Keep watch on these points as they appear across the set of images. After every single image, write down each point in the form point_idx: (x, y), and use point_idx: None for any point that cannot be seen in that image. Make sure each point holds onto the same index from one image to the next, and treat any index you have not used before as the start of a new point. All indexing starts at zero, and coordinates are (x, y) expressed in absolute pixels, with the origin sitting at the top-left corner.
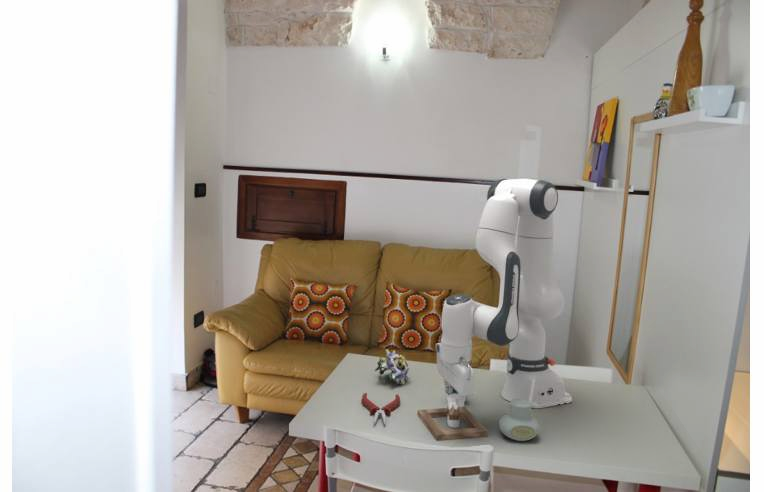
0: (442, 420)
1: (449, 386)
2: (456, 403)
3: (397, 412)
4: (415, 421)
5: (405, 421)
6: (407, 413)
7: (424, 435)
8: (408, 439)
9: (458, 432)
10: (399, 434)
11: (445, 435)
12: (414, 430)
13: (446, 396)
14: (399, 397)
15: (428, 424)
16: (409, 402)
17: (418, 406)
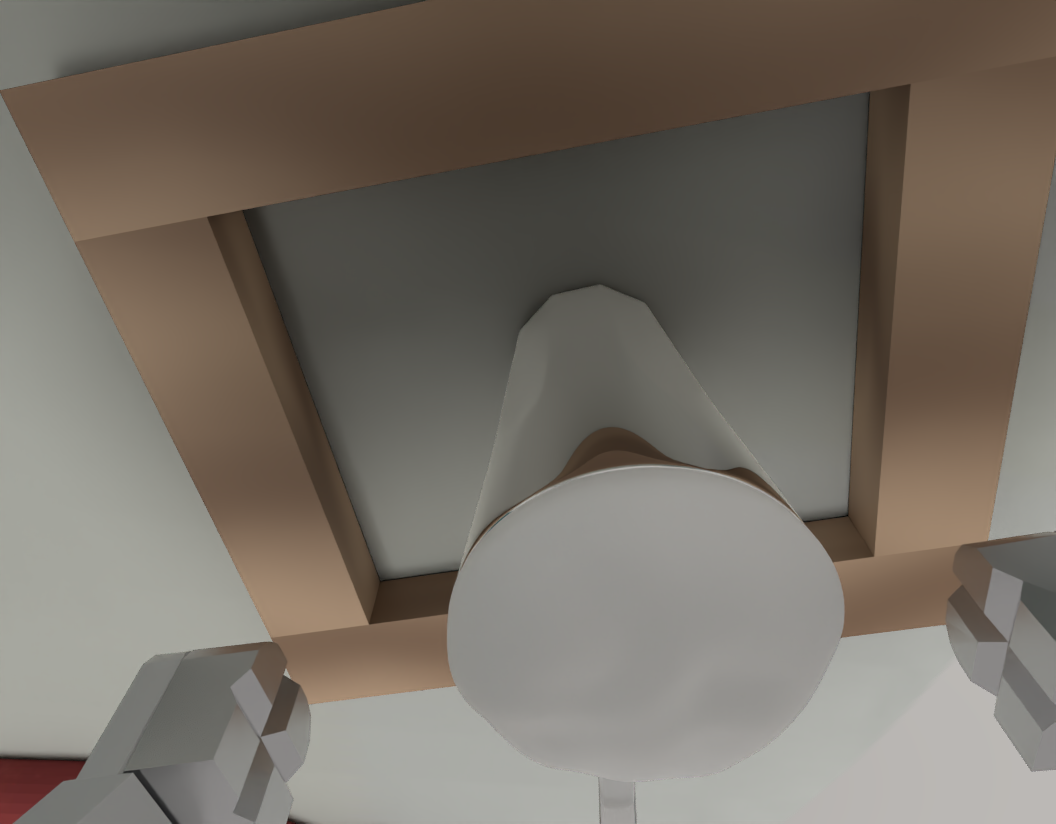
0: (439, 452)
1: (150, 810)
2: (964, 663)
3: (293, 785)
4: None
5: (487, 751)
6: None
7: None
8: (852, 760)
9: (985, 391)
10: (746, 801)
11: (980, 533)
12: None
13: (626, 812)
14: (2, 805)
15: None
16: (4, 689)
17: (84, 629)
